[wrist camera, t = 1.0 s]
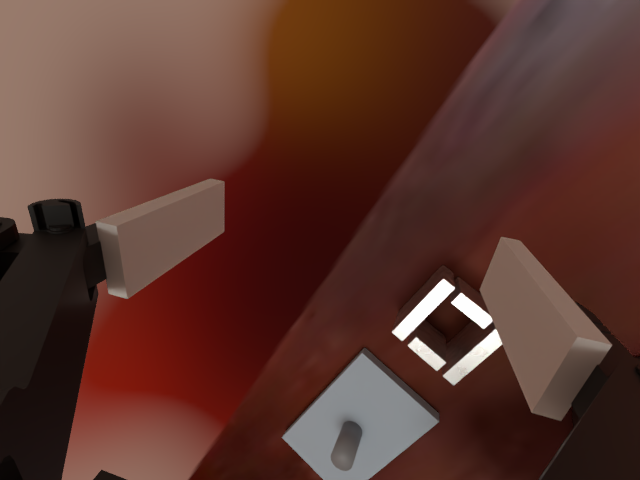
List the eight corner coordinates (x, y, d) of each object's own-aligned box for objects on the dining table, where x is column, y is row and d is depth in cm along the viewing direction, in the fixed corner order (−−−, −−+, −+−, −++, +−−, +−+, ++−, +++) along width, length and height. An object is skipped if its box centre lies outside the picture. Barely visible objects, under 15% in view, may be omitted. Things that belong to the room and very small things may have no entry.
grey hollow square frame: (502, 310, 35) (513, 334, 29) (451, 356, 38) (453, 385, 32) (442, 264, 36) (443, 278, 31) (398, 311, 39) (391, 332, 34)
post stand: (439, 413, 39) (439, 454, 33) (346, 490, 46) (332, 535, 40) (364, 347, 42) (351, 374, 36) (286, 430, 48) (264, 464, 42)
